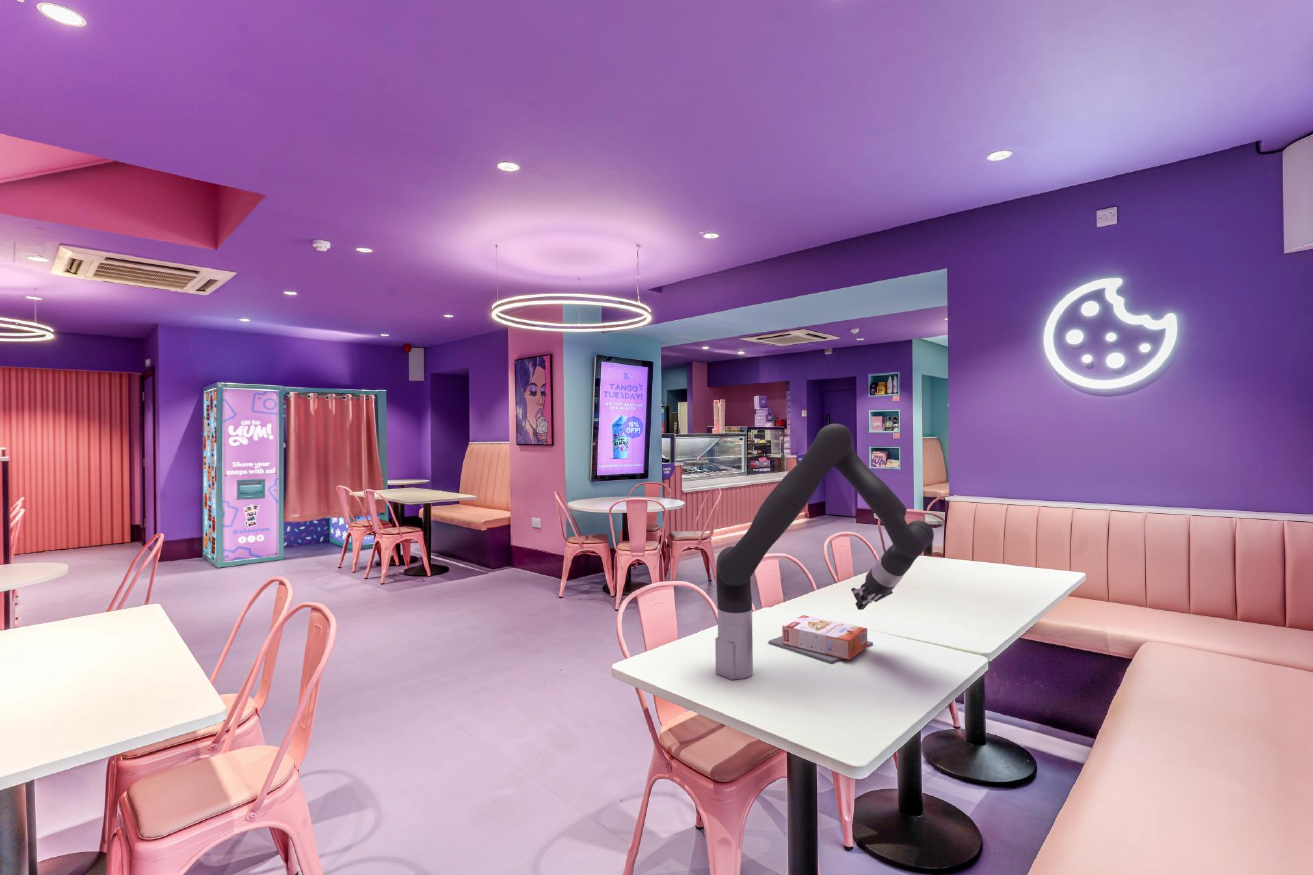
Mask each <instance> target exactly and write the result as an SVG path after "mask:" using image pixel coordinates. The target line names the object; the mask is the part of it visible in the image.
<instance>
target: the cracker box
mask: <svg viewBox="0 0 1313 875" xmlns="http://www.w3.org/2000/svg"><path fill="white" fill-rule="evenodd" d="M781 630H782V631H781V632H782V633H781V634H782V635H781V636H782V643H783V644H786V645H790V646H794V647H798V648H802V649H807V650H811V651H815V652H819V653H823V654H827V655H831V656H836V657H840V658H844V660H851V659H852V658H853V657H855V656H857V655H858V654H859V653H860V652H862V651H864V650H866V649H867V648H866V647H867V641H868V628H867V627H863V626H858V625H852V624H848V623H844V622H838V621H833V620H828V619H824V618H819V617H818V618H817V617H813V616H809V615H801V616H799V617H797V618H795V619H793V620H791V621H789V622H787V623H785V624H783V625H782V628H781ZM865 648H866V649H865Z"/></svg>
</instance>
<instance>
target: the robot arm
mask: <svg viewBox="0 0 1313 875" xmlns="http://www.w3.org/2000/svg"><path fill="white" fill-rule="evenodd" d="M833 468H835V469H836V470H837V471H838V472H839V473H841V475H842V476H843V477H844V478H845V479H846V480H847V481H848V482H849V483H850V485H851V486H852V487H853V488H854V490H856V492H857V493H858V494H859V495H860V497H861V498H862V500H864V503H866V505H867V506H868V507H869V509H870V510H872V512H873V513H874V515H876V517H877V518H878V519H879V521H881V523H882V524H883V527H884V530H885V531H886V533H887V535H888V537H889V539H890V541H891V543H892V545H891V546H889V547H888V548H887V550H886V551H885V552H884V553H883V554H882V556H881V557H880V558H878V559H877V561H876V562H874V564H873V566H872V567H871V569H869V570H868V572H867V574H866V575H865V581H864V583H863V584H861V585H860V587H859V588H856V587H852V588H851V592H852V595H853V597H854V599H855V601H856V602H855V607H856V608H857V610H859V611H861V610H864V609H865V608H866V607H867V606H869V604H870V605H871V603H873V602H874V603H877V602H879V601H881V600H882V599H884V598H886V597H888V596H890V595H892V594H893V593H894V591H893V590H894V589H895V588H896V586H897V585H898V584H899V583H900V582H901V581H902V579H903V578H904V576H905V574H906V573H907V572H908V571H909V569H911V567H912V565H913V564H914V562H915V561H916V559H917V558H918V557H919V556H921V555H922V554H923V553H924V552H925V551H926V549H927V548H928V547H929V546H930V545H931V544H932V543H933V541H934V537H935V533H934V530H933V528H932V526H931V525H930V524H929V523H927V522H926V521H923V520H913V521H911V522H909V523H907V521H906V518H905V517H906V514H907V512H908V511H907V510H908V509H907V507H906V506H905V504H904V503H903V502H902V501H901V499H900V498H899V496H897V495H896V494H895V493H894V491H893V490H892V489H891V488H890V487H889V486H888V485H887V484H886V483H885V482H884V481H883V480H882V478H880V477H879V476H877V475H876V474H875V473H874V472H873V471H872V470H871V469H870V468H869V467H868V466H867V465H866V464H865V462H863V460H862V459H861V458H860V457H859V455H858V454H857V452H856V451H855V449H854V447H853V435H852V433H851V431H850V429H849V428H848V427H847V426H845V425H844V424H840V423H830V424H827V425H825V426H823V427H821V429H820V430H819V431H818V432H817V435H816V436H815V439H813V442H812V443H811V445H810V446H809V448H808V449H807V451H805V454H804V455H803V457H802V458H801V459H800V460H799V462H798V463H797V464H796V465H794V467H793V468H792V469H790V471H788V473H787V474H786V475H785V476H784V477H783V478H782V479H781V480H779V482H778V483H777V484H776V485H775V487H774V488H773V489H772V490H771V491H770V493H769V494H768V496H767V497H766V498H765V499H764V501H763V502H762V504H761V505H760V507H759V509H758V511H757V512H756V514H755V516H754V518H753V520H752V521H751V524H750V526H749V528H748V529H747V531H746V532H745V534H744V535H743V536H742V537H741V538H740V540H739V541H738V542H737V543H736V544H735V545H733V546H727V547H725V548H724V549H722V550H721V551H720V553H719V554H718V556H717V557H716V565H715V567H716V569H715V570H716V600H717V604H716V605H717V637H715V640H714V644H715V647H714V648H715V649H714V651H715V652H714V653H715V674H717V675H719V676H721V677H724V678H727V679H729V680H732V681H734V680H740V679H742V680H743V679H747V678H750V677H751V676H752V675H753V673H754V660H753V659H754V656H753V655H754V653H753V651H754V650H753V645H754V644H753V643H754V642H753V598H752V596H753V595H752V589H751V586H752V585H751V584H752V582H751V577H752V576H753V574H754V573H755V571H756V570H757V569H758V566H759V565H760V563H761V562H762V560H763V559H764V557H765V556H766V554H767V552H769V550H770V549H771V547H772V546H773V545H774V544H775V543H776V542H777V541H778V540H779V539H780V538H781V537H782V535H783V534H785V532H786V531H787V530H788V529H789V527H790V526H791V525H792V524H793V523H794V521H795V520H796V518H798V516H799V515H800V514H801V512H802V511H803V510H804V509H805V507H806V506H807V505H808V503H809V501H810V500H811V498H812V497H813V495H814V494H815V492H816V490H817V489H818V487H819V485H820V484H821V482H822V480H823V479H824V478H825V477H826V475H828V473H829V472H830V471H831V470H832V469H833Z"/></svg>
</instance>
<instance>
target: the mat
mask: <svg viewBox="0 0 1313 875" xmlns="http://www.w3.org/2000/svg"><path fill="white" fill-rule="evenodd" d="M767 643H768V644H769V645H772V646H774V647H779V648H782V649H784V650H788V651H791V652H793V653H796V654H800V655H802V656H805V657H809V658H812V659H815V660H818V661H821V662H824V663H828V664H831V665H833V664H835V663H837V662H839V661H842V660H843V659H844V658H840V657H836V656H831V655H827V654H823V653H819V652H815V651H811V650H807V649H802V648H798V647H794V646H790V645H786V644H783V643H782V635H781V636H777V637H776V638H772V639H770V640H768V642H767ZM871 645H872V646H874V642H873V641H869V640H867V647H868V648H870V647H872V646H871ZM867 647H866V648H865V649H864V650H866V649H868V648H867ZM844 660H845V659H844Z"/></svg>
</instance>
